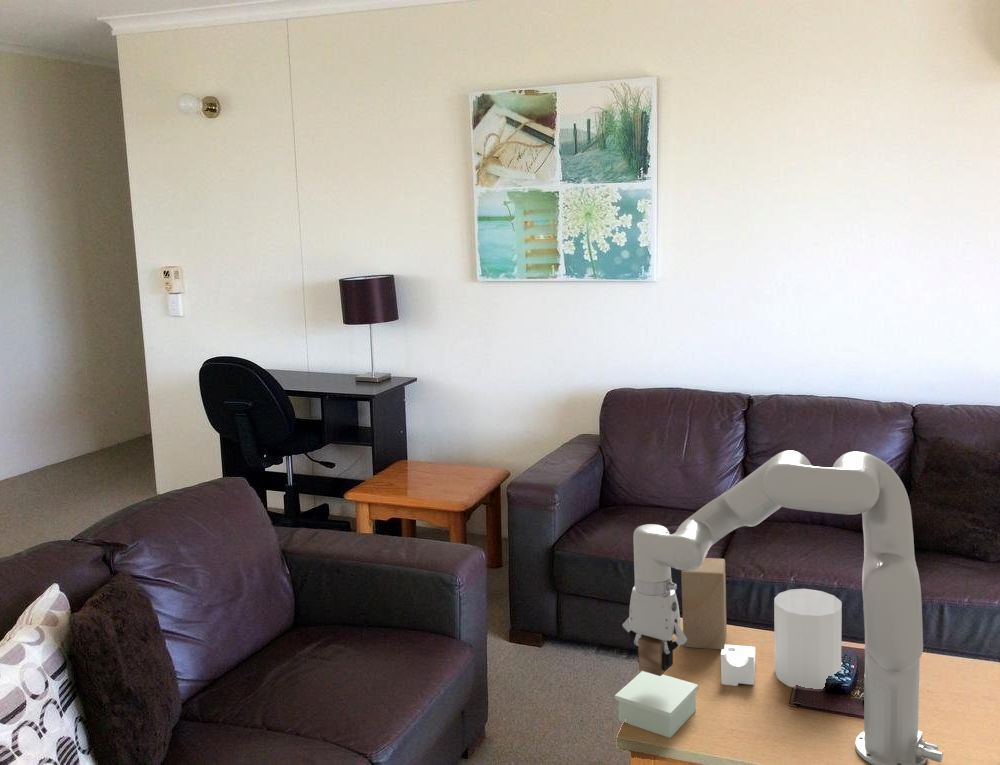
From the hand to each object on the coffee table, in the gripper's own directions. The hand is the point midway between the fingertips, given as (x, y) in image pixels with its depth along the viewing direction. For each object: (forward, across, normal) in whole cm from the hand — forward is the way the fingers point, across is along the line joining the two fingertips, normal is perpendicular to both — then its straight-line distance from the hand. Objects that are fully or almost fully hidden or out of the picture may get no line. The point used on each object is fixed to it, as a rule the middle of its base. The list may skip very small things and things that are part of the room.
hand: (655, 663), depth 184 cm
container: (+12, -21, -33) cm, 41 cm away
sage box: (+12, 0, 0) cm, 12 cm away
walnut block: (+1, 0, 0) cm, 1 cm away
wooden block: (+12, +6, -37) cm, 39 cm away
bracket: (+12, -8, -26) cm, 30 cm away
